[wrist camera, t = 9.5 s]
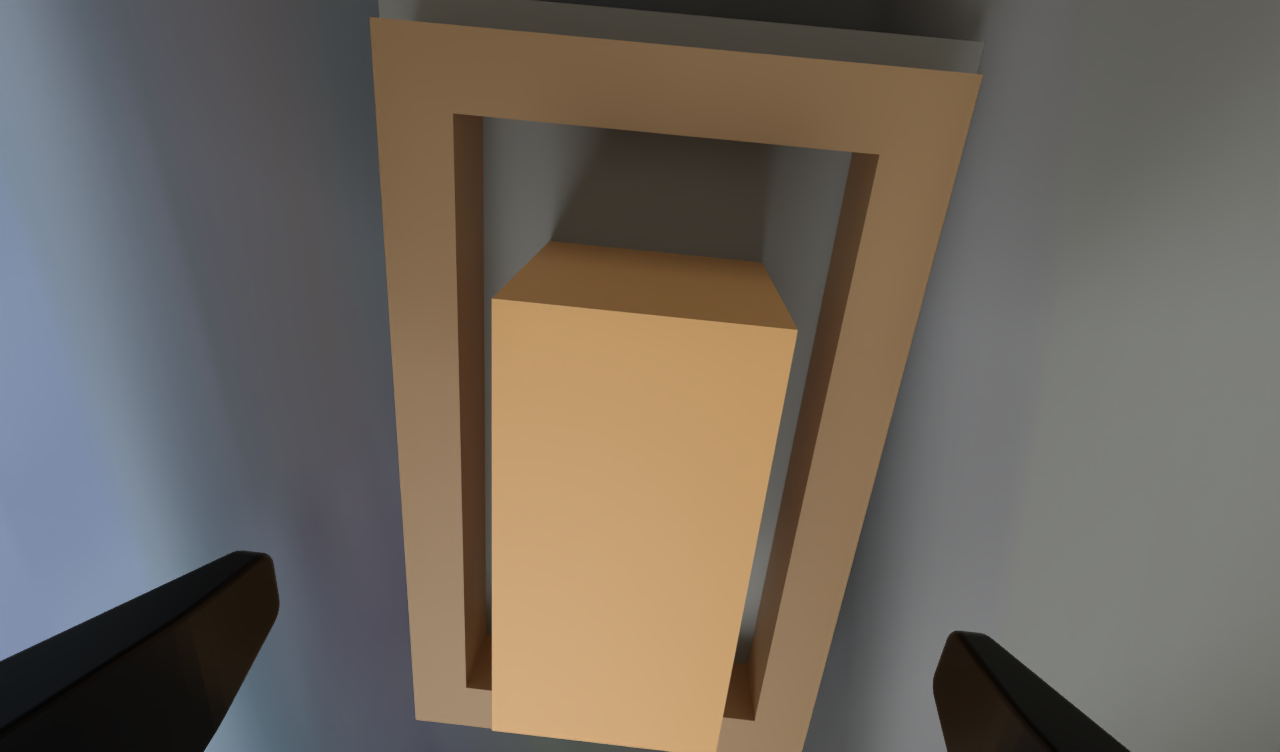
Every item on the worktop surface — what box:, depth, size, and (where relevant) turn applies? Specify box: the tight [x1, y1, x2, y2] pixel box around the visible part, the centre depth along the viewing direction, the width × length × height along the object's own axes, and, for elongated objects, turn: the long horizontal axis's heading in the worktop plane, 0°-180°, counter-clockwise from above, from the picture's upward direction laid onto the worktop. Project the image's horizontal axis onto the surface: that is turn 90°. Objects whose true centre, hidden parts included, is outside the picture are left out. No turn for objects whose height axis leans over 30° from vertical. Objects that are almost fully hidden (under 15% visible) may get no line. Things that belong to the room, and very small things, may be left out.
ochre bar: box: [492, 241, 798, 752], centre depth 12 cm, size 8×4×4 cm, turn 175°
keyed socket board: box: [370, 0, 985, 752], centre depth 13 cm, size 16×10×2 cm, turn 175°
